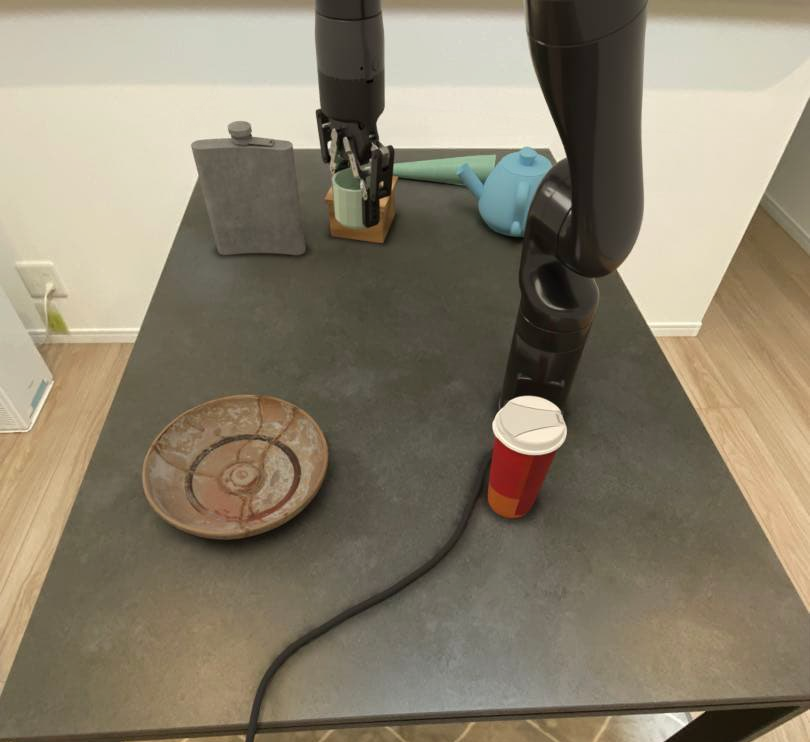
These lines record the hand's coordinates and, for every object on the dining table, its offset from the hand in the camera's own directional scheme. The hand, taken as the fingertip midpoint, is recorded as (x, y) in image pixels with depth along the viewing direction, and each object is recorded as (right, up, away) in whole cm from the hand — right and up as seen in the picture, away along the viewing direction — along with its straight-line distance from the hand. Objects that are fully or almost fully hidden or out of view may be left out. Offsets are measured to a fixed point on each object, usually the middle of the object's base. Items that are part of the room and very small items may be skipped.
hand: (357, 213), depth 80 cm
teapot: (+26, +18, +36) cm, 48 cm away
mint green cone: (+11, +31, +44) cm, 55 cm away
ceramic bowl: (-15, -36, 0) cm, 39 cm away
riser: (-2, +16, +34) cm, 38 cm away
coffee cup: (+20, -38, -1) cm, 43 cm away
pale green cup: (0, 0, 0) cm, 1 cm away
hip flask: (-20, +9, +29) cm, 37 cm away
